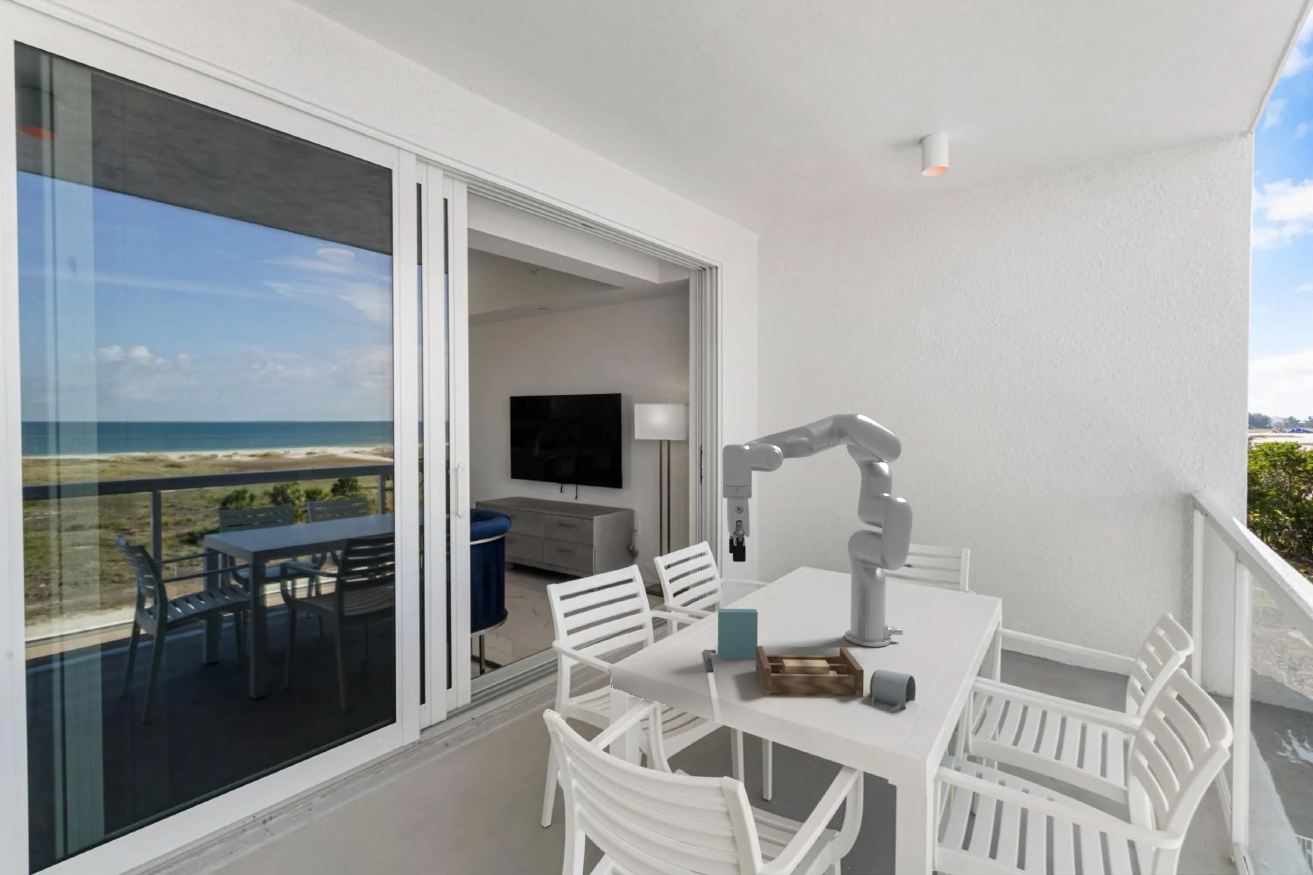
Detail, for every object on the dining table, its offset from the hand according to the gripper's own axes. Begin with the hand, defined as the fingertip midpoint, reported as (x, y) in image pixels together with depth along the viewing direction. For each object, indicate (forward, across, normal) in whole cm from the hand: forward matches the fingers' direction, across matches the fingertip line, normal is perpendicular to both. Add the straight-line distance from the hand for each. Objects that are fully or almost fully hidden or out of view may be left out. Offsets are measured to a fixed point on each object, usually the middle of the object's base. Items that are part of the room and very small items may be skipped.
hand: (737, 557), depth 160 cm
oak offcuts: (+26, -18, -15) cm, 35 cm away
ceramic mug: (+28, -25, -31) cm, 49 cm away
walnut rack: (+28, -16, -15) cm, 35 cm away
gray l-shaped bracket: (+28, 0, 0) cm, 28 cm away
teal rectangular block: (+27, 0, 0) cm, 27 cm away
